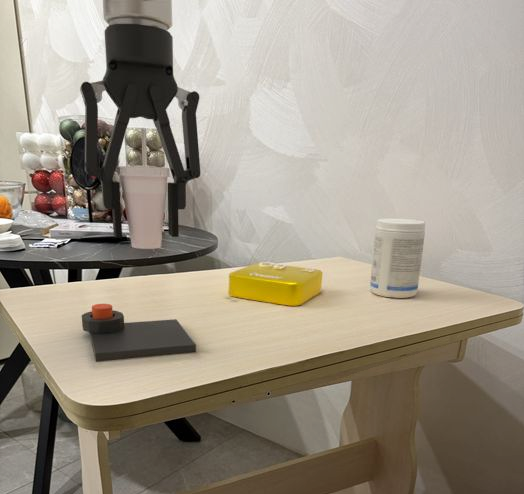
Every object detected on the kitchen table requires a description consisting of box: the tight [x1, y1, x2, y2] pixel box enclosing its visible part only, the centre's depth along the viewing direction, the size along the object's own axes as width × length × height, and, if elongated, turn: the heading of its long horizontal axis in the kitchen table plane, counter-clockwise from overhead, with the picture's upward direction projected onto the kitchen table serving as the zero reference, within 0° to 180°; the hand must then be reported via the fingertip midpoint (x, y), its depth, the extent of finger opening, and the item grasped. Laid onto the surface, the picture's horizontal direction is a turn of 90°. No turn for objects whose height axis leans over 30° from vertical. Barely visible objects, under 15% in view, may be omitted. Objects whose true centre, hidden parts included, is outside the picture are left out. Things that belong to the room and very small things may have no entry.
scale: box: [81, 309, 197, 363], centre depth 73 cm, size 14×13×3 cm
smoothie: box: [116, 128, 171, 250], centre depth 65 cm, size 6×6×14 cm
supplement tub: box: [369, 217, 426, 299], centre depth 105 cm, size 10×10×15 cm
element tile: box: [228, 261, 323, 307], centre depth 102 cm, size 15×15×5 cm
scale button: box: [91, 303, 114, 319], centre depth 74 cm, size 3×3×2 cm
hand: (146, 235), depth 67 cm, fingers closed on smoothie, 6 cm apart
